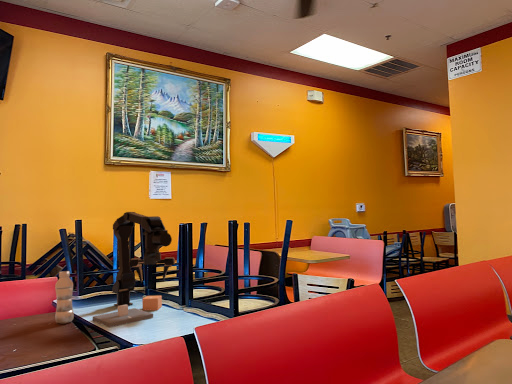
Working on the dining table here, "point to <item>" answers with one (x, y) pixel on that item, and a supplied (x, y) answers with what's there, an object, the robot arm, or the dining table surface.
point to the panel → (122, 316)
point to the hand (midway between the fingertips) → (152, 281)
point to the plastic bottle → (64, 298)
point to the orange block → (152, 302)
